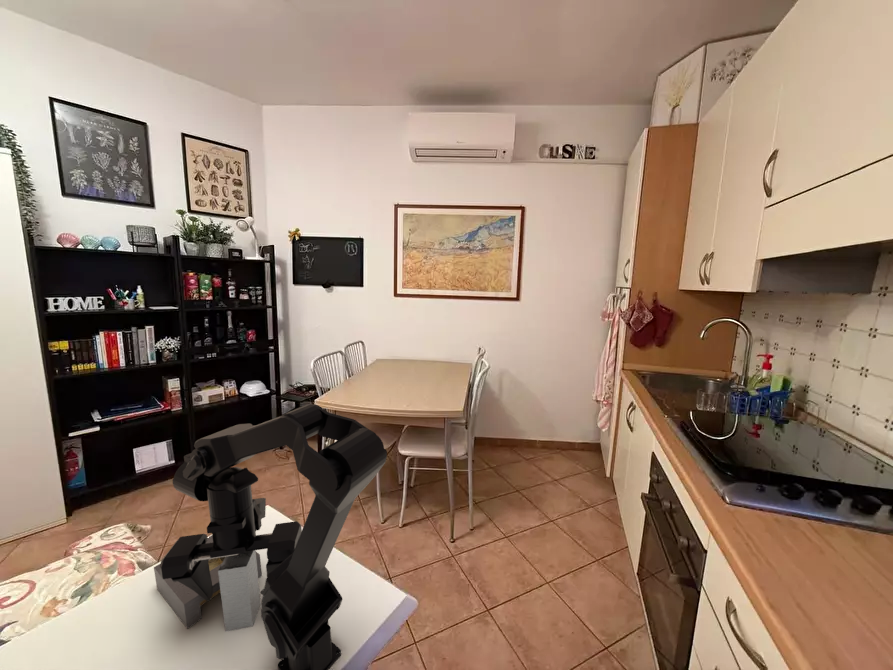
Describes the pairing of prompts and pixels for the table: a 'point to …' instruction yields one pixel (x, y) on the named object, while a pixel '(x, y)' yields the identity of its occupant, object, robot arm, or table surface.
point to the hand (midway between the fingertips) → (241, 593)
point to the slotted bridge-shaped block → (191, 591)
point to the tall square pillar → (239, 590)
